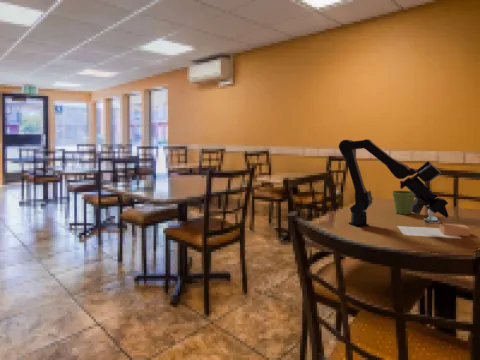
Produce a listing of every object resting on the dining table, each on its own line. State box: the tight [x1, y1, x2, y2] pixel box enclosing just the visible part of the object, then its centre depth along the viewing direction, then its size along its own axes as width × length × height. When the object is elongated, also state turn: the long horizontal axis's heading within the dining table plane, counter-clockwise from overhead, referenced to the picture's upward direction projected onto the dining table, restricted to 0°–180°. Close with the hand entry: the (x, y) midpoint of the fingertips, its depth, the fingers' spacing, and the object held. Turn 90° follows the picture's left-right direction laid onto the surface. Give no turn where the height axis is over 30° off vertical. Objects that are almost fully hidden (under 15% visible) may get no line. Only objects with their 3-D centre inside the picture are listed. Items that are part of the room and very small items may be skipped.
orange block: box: [439, 223, 471, 237], centre depth 131 cm, size 3×6×9 cm
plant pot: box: [391, 190, 415, 215], centre depth 169 cm, size 12×12×11 cm
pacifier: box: [423, 209, 441, 224], centre depth 150 cm, size 7×6×6 cm
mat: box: [396, 225, 463, 239], centre depth 134 cm, size 20×14×1 cm
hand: (447, 216), depth 131 cm, fingers closed
